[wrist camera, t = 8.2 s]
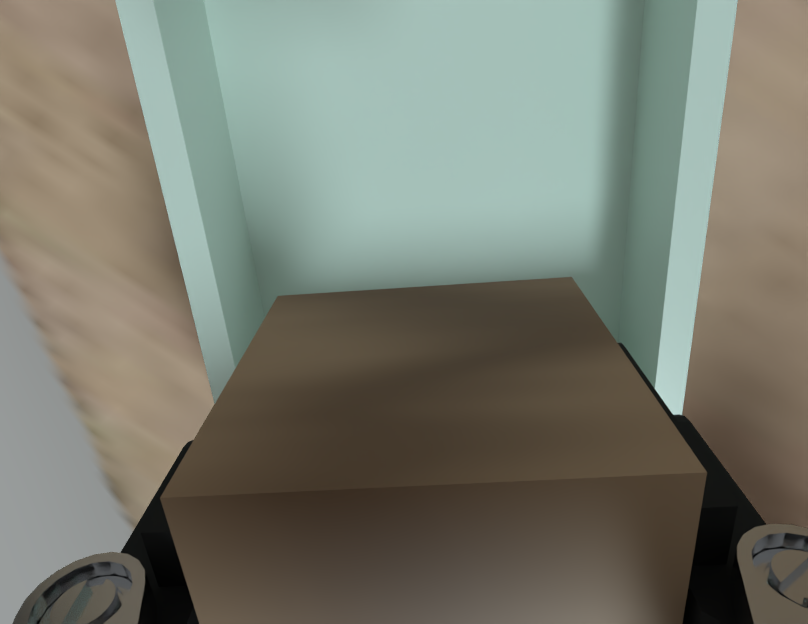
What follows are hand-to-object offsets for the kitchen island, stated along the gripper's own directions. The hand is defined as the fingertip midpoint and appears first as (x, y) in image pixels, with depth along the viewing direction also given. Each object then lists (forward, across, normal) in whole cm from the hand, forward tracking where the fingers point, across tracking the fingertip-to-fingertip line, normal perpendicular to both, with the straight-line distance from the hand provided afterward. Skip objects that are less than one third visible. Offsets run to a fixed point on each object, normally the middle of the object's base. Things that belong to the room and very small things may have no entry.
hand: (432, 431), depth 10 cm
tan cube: (+1, 0, 0) cm, 1 cm away
